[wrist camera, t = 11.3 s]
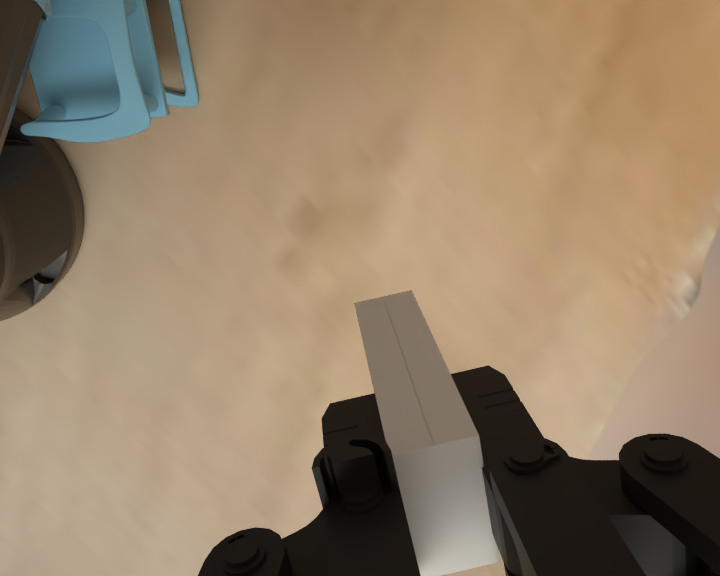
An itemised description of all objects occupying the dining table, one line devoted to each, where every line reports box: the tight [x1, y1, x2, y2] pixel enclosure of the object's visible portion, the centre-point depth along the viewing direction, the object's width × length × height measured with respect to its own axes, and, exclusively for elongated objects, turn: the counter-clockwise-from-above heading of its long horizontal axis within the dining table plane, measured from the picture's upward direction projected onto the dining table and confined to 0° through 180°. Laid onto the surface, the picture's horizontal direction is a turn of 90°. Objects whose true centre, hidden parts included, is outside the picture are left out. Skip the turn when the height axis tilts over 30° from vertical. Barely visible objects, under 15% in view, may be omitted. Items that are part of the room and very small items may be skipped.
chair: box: [20, 0, 199, 143], centre depth 35 cm, size 8×8×12 cm
